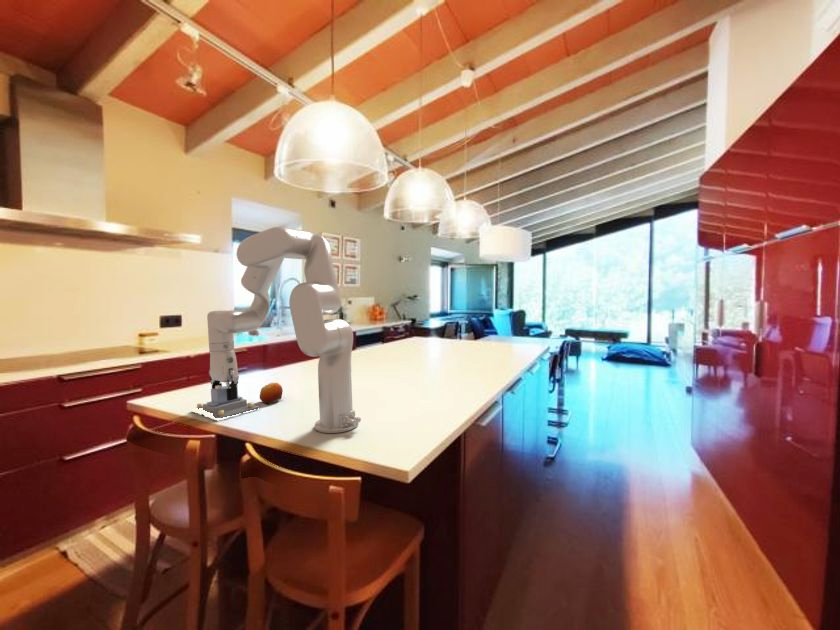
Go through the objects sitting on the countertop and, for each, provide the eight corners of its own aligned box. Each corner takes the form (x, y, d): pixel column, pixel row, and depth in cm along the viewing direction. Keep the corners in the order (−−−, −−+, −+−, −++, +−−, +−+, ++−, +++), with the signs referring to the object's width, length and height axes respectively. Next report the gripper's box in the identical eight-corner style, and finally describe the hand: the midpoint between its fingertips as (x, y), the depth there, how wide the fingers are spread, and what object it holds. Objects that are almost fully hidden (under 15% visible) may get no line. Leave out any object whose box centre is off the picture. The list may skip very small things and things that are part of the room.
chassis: (259, 409, 133) (259, 400, 133) (218, 421, 122) (217, 412, 122) (231, 401, 144) (230, 393, 143) (191, 411, 132) (190, 403, 132)
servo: (242, 405, 135) (241, 382, 135) (213, 412, 127) (211, 388, 127) (236, 403, 138) (235, 380, 137) (207, 410, 130) (205, 387, 129)
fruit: (283, 400, 138) (270, 381, 138) (265, 412, 139) (252, 393, 138) (291, 394, 146) (279, 376, 146) (274, 405, 147) (262, 387, 146)
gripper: (246, 347, 129) (249, 398, 130) (219, 344, 139) (222, 391, 140) (224, 350, 123) (227, 404, 124) (197, 347, 133) (200, 396, 134)
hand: (224, 397), depth 132 cm, fingers open, 9 cm apart
